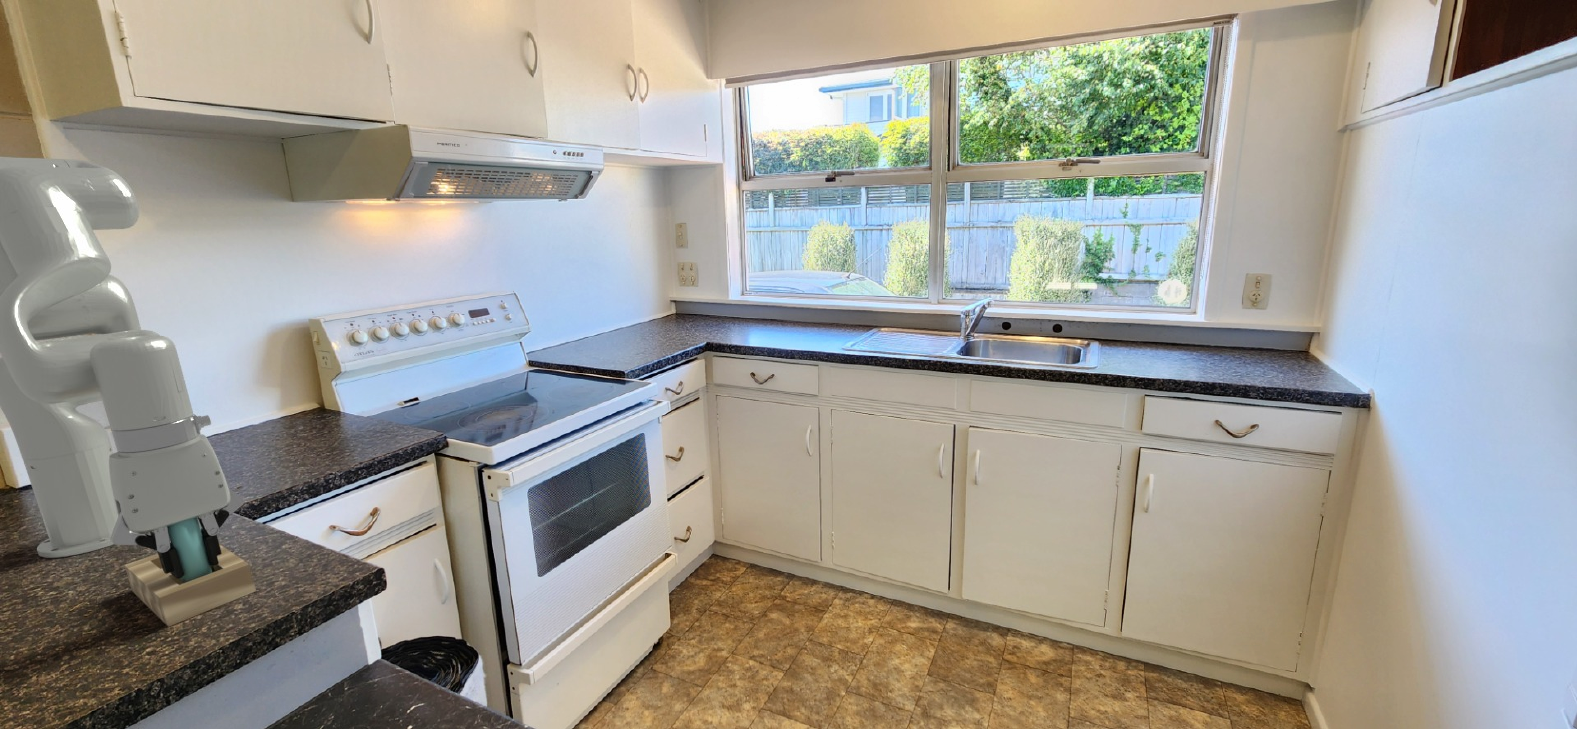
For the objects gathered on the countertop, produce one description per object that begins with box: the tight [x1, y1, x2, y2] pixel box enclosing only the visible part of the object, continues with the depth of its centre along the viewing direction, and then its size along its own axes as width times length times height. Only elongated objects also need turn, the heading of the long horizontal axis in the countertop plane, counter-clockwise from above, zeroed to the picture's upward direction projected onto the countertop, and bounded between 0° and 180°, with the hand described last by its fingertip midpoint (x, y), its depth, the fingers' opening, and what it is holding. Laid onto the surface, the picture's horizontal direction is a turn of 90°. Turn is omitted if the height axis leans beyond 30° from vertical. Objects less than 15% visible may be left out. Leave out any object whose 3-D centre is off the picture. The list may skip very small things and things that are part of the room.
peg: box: [167, 517, 212, 583], centre depth 86 cm, size 3×3×10 cm
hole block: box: [123, 543, 257, 627], centre depth 89 cm, size 16×9×4 cm, turn 56°
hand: (194, 567), depth 86 cm, fingers closed on peg, 2 cm apart
